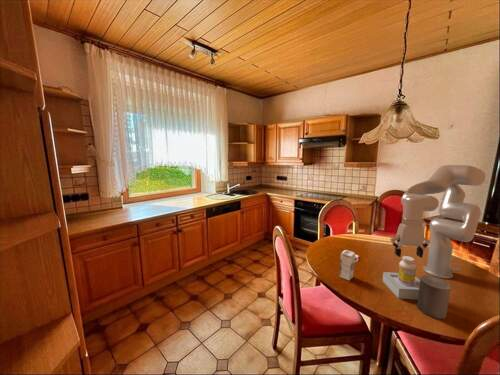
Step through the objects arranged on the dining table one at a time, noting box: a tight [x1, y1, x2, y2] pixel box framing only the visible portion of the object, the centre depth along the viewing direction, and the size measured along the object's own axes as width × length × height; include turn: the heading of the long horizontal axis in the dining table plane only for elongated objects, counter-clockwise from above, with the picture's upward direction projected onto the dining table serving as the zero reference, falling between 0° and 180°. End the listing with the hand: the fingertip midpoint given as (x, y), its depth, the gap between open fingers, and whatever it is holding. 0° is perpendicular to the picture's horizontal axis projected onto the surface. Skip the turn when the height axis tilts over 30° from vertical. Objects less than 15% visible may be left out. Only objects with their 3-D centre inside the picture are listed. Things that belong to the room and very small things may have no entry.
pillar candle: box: [416, 274, 452, 320], centre depth 88 cm, size 10×10×15 cm
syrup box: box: [338, 249, 356, 281], centre depth 113 cm, size 6×6×14 cm
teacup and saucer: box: [355, 254, 360, 262], centre depth 135 cm, size 9×8×4 cm
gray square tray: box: [382, 271, 420, 301], centre depth 102 cm, size 14×14×5 cm
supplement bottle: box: [397, 255, 417, 286], centre depth 101 cm, size 7×7×13 cm
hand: (408, 256), depth 100 cm, fingers open, 9 cm apart
